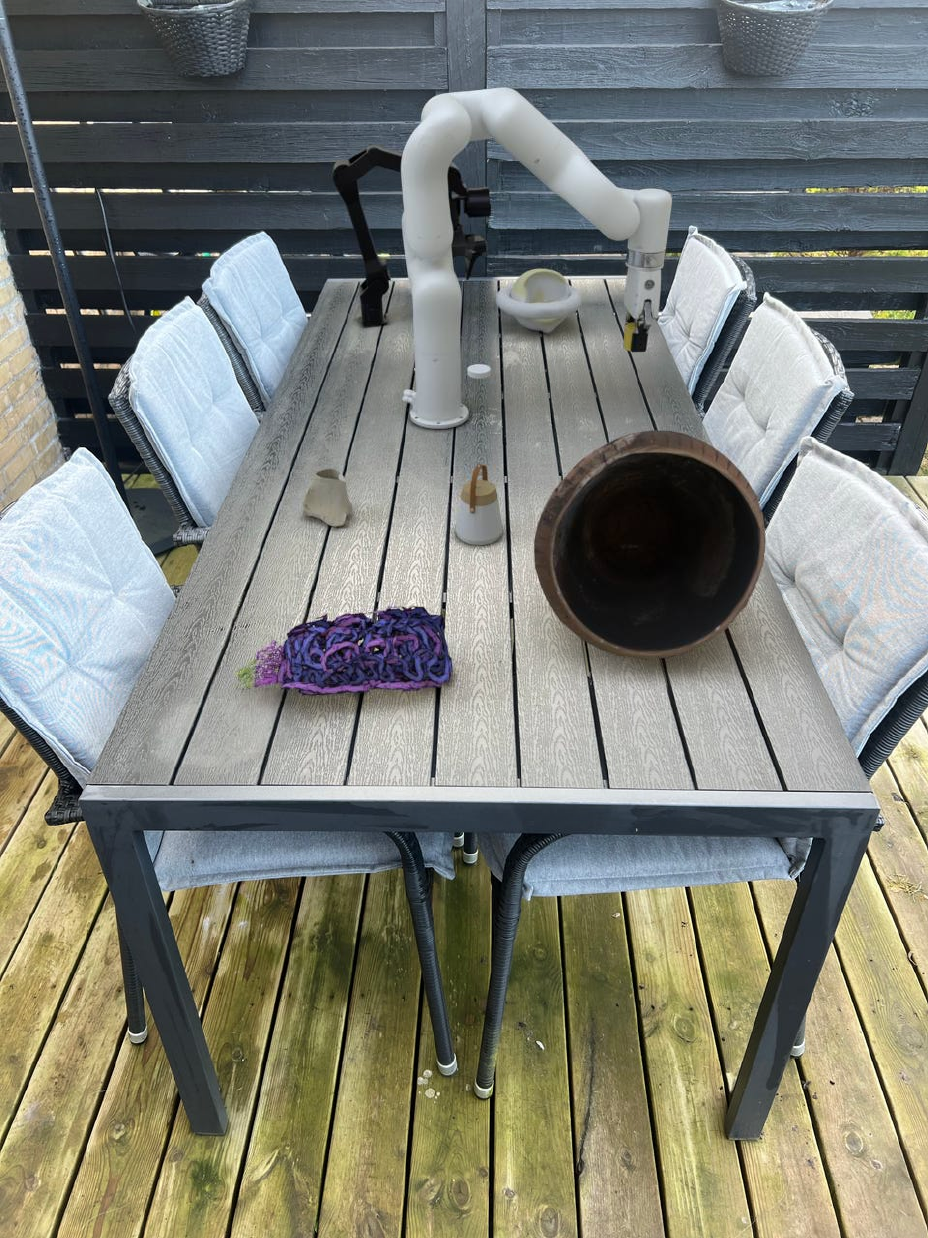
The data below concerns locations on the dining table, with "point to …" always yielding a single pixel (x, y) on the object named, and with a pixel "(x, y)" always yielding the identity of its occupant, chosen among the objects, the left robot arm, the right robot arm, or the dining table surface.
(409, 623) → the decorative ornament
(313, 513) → the beige irregular piece
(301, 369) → the dining table surface
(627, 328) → the tin
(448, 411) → the right robot arm
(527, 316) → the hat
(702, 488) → the pot
